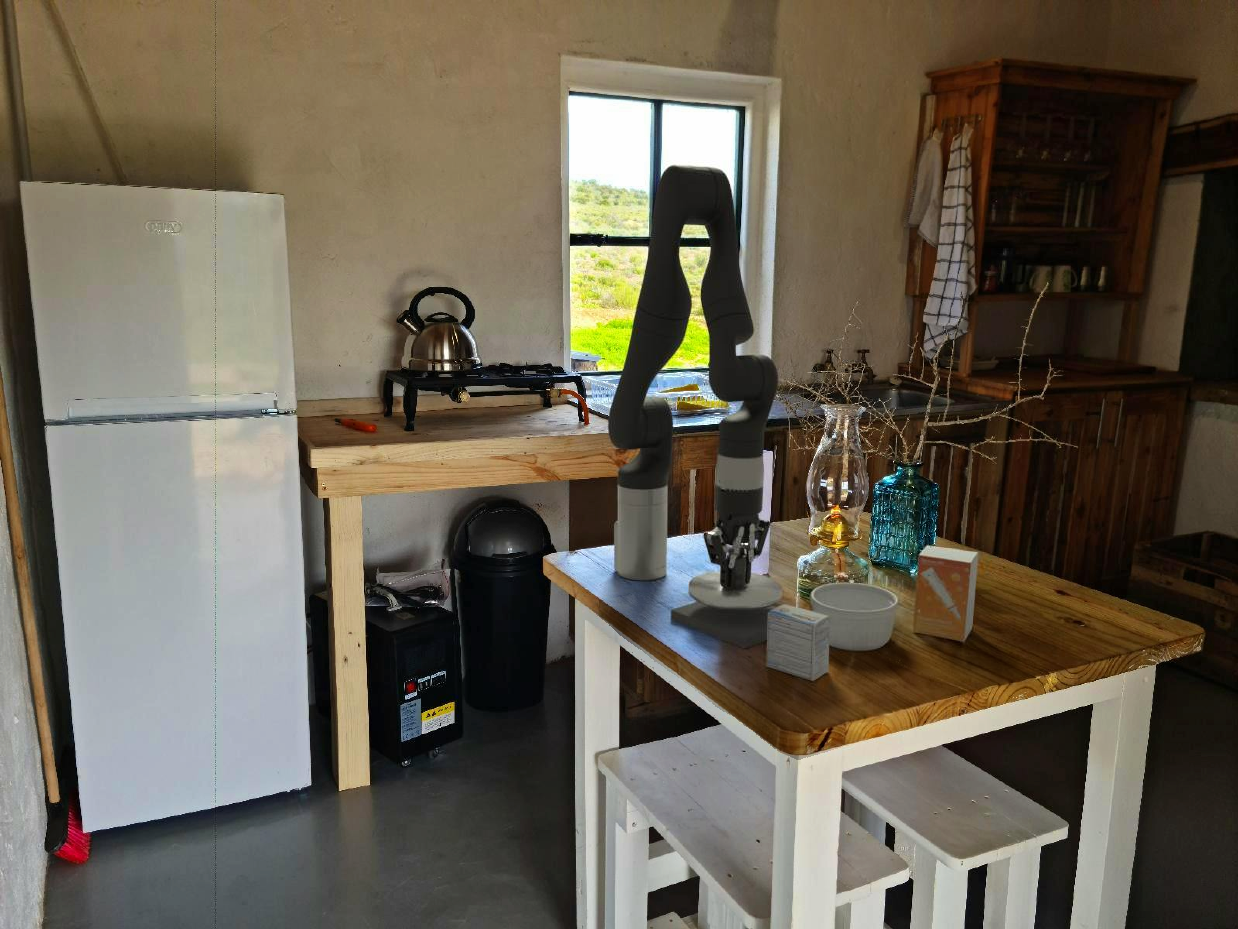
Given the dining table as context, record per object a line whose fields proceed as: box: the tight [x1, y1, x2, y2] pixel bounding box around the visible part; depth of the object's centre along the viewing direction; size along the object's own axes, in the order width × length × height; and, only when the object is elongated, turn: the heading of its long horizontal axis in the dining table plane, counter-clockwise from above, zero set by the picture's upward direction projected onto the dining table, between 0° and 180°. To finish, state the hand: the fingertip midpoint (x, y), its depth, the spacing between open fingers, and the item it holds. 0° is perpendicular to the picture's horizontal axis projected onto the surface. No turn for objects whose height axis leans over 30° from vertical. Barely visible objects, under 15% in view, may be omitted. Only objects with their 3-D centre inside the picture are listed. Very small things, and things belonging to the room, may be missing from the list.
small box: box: [912, 545, 979, 643], centre depth 154 cm, size 8×6×13 cm
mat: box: [670, 601, 777, 649], centre depth 158 cm, size 16×14×2 cm
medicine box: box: [765, 603, 830, 682], centre depth 140 cm, size 8×4×9 cm, turn 48°
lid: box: [688, 554, 783, 611], centre depth 157 cm, size 15×15×6 cm
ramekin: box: [809, 582, 899, 652], centre depth 152 cm, size 13×13×7 cm
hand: (735, 585), depth 157 cm, fingers closed on lid, 3 cm apart
